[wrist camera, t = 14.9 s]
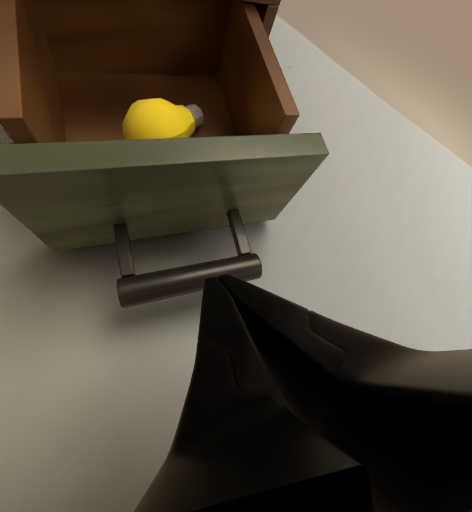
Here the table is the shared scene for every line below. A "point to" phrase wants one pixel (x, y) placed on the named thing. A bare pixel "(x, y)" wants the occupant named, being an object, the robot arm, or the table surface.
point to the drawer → (146, 150)
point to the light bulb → (160, 120)
